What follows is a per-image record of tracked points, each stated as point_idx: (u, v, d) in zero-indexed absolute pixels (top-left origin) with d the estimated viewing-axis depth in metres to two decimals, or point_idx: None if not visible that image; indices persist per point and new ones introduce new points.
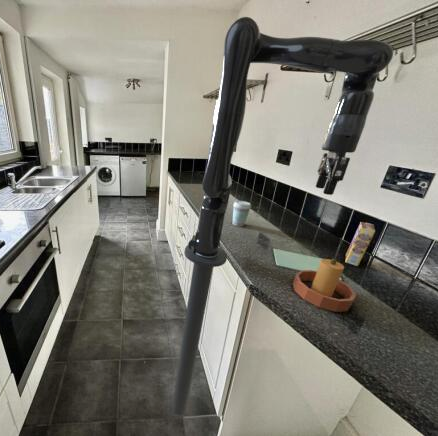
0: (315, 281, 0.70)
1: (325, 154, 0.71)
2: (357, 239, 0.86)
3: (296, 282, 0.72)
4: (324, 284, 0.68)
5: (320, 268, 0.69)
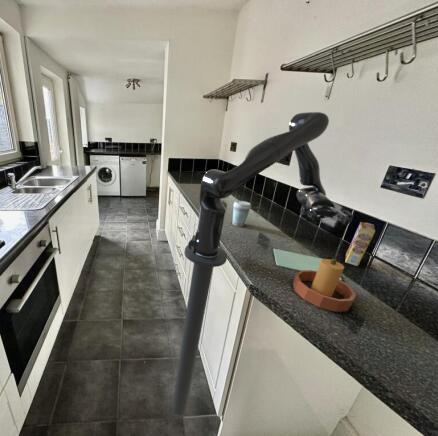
0: (315, 281, 0.70)
1: None
2: (357, 239, 0.86)
3: (296, 282, 0.72)
4: (324, 284, 0.68)
5: (320, 268, 0.69)
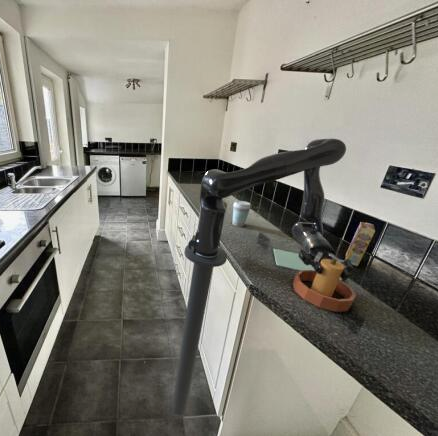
0: (315, 281, 0.70)
1: None
2: (357, 239, 0.86)
3: (296, 282, 0.72)
4: (324, 284, 0.68)
5: None
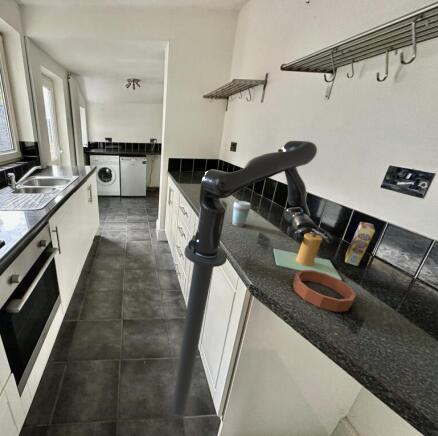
0: (300, 251, 0.87)
1: None
2: (357, 239, 0.86)
3: (296, 282, 0.72)
4: (307, 253, 0.84)
5: (303, 240, 0.85)
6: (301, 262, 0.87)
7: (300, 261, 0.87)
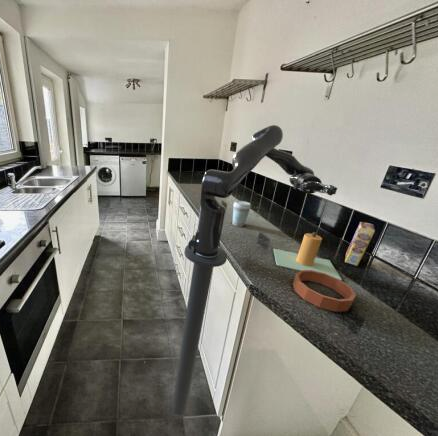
0: (300, 251, 0.87)
1: None
2: (357, 239, 0.86)
3: (296, 282, 0.72)
4: (307, 253, 0.84)
5: (303, 240, 0.85)
6: (301, 262, 0.87)
7: (300, 261, 0.87)
